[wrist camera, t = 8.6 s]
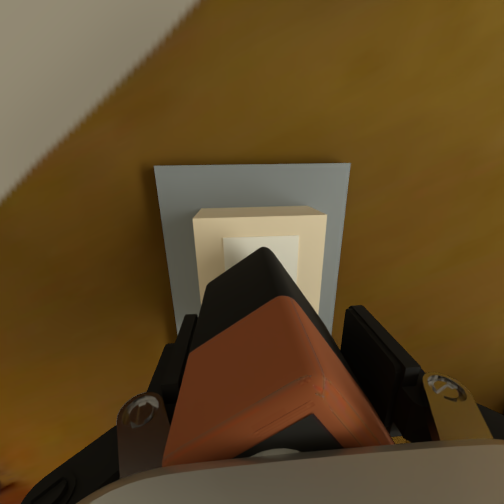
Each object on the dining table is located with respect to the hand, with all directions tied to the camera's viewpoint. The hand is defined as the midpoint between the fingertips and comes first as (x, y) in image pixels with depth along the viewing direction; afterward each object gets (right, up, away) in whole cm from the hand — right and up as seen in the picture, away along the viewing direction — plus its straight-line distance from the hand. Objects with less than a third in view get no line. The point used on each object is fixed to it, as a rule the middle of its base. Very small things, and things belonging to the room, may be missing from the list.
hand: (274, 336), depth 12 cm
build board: (-1, +1, +10) cm, 10 cm away
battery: (0, +1, +3) cm, 3 cm away
